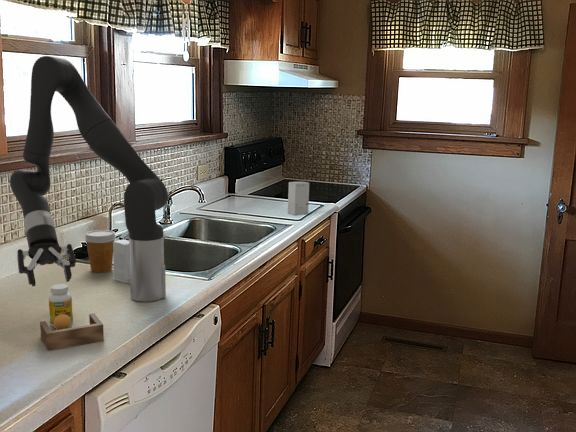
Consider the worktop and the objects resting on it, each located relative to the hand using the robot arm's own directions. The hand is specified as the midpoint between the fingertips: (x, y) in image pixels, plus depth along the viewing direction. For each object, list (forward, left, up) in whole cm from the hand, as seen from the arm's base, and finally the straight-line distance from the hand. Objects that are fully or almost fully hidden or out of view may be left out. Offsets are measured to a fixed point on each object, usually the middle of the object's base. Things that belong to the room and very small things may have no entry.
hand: (51, 282), depth 166 cm
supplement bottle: (-2, +12, -7) cm, 14 cm away
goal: (-4, +23, -7) cm, 24 cm away
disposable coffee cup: (-15, -32, -7) cm, 36 cm away
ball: (-2, +16, -5) cm, 17 cm away
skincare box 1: (-21, -19, -7) cm, 29 cm away
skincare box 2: (-109, -100, -7) cm, 148 cm away
